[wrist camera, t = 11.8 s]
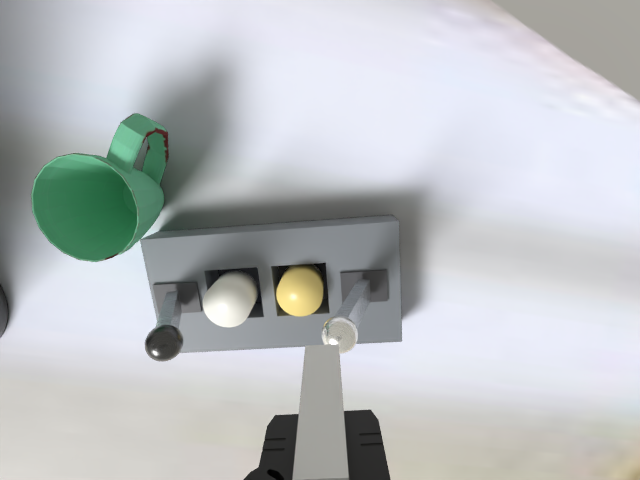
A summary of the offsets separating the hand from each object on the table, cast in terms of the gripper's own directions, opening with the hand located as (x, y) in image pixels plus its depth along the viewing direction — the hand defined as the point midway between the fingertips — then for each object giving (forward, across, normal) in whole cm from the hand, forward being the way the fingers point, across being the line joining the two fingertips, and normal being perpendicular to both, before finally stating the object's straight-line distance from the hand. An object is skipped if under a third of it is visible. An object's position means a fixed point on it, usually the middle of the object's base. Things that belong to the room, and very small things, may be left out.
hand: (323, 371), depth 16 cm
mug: (+27, -19, +8) cm, 34 cm away
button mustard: (+24, -3, -5) cm, 24 cm away
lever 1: (+21, -17, -5) cm, 28 cm away
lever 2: (+21, +4, -5) cm, 22 cm away
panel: (+26, -6, -5) cm, 27 cm away
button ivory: (+22, -10, -5) cm, 25 cm away
